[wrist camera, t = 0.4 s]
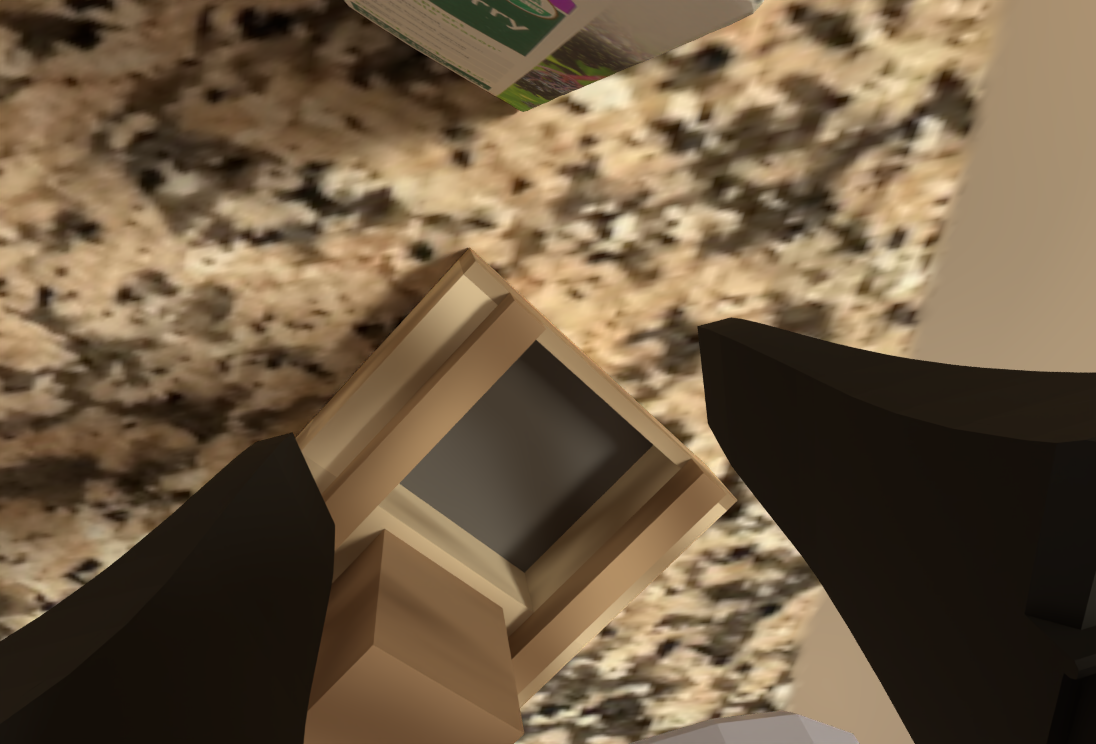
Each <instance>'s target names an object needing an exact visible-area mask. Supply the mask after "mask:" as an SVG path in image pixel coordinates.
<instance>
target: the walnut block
mask: <svg viewBox="0 0 1096 744" xmlns="http://www.w3.org/2000/svg"><path fill="white" fill-rule="evenodd" d="M523 734H524V730H523V724H522V718H521V712H520V706H519V701H518V695H517V689H516V683H515V677H514V671H513V666H512V660H511V654H510V648H509V642H508V637H507V631H506V625H505V619H504V613H503V608H502V607H500V606H499V605H497V604H496V603H494V602H493V601H491V600H490V599H489V598H487V597H486V596H484V595H483V594H481V593H480V592H478V591H477V590H475V589H474V588H472V587H471V586H469V585H468V584H466V583H465V582H463V581H462V580H460V579H459V578H457V577H456V576H454V575H453V574H451V573H450V572H448V571H447V570H445V569H444V568H442V567H441V566H440V565H438V564H437V563H435V562H434V561H432V560H431V559H429V558H428V557H426V556H425V555H423V554H422V553H420V552H419V551H417V550H416V549H414V548H413V547H411V546H410V545H408V544H407V543H405V542H404V541H402V540H401V539H399V538H398V537H396V536H395V535H393V534H392V533H390V532H389V531H388V530H386V529H384V530H383V531H382V532H381V533H380V534H379V535H378V536H377V537H376V538H375V539H374V540H373V541H372V542H371V543H370V545H369V546H368V547H367V548H366V549H365V550H364V551H363V552H362V553H361V554H360V555H359V556H358V557H357V558H356V559H355V560H354V561H353V562H352V563H351V564H350V565H349V566H348V567H347V568H346V570H345V571H344V572H343V573H342V574H341V575H340V576H339V577H338V578H337V579H336V580H335V581H334V582H333V583H332V586H331V591H330V596H329V602H328V607H327V612H326V617H325V622H324V627H323V632H322V637H321V642H320V647H319V652H318V657H317V662H316V667H315V672H314V678H313V683H312V688H311V693H310V698H309V704H308V711H307V718H306V724H305V735H304V744H514V743H515V742H516V741H517V740H518V739H519V738H520V737H521V736H522V735H523Z"/></svg>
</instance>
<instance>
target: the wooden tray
mask: <svg viewBox="0 0 1096 744" xmlns="http://www.w3.org/2000/svg"><path fill="white" fill-rule="evenodd" d="M295 439H296V441H297V443H298V445H299V447H300V450H301V452H302V454H303V456H304V458H305V460H306V463H307V465H308V467H309V469H310V471H311V473H312V476H313V478H314V480H315V482H316V484H317V486H318V489H319V491H320V493H321V495H322V497H323V499H324V502H325V504H326V506H327V508H328V510H329V512H330V515H331V517H332V519H333V521H334V523H335V554H334V571H333V580H332V583H333V582H334V581H335V580H336V579H337V578H338V577H339V576H340V575H341V574H342V573H343V572H344V571H345V570H346V568H347V567H348V566H349V565H350V564H351V563H352V562H353V561H354V560H355V559H356V558H357V557H358V556H359V555H360V554H361V553H362V552H363V551H364V550H365V549H366V548H367V547H368V546H369V545H370V543H371V542H372V541H373V540H374V539H375V538H376V537H377V536H378V535H379V534H380V533H381V532H382V531H383V530H384V529H386V530H388V531H389V532H390V533H392V534H393V535H395V536H396V537H398V538H399V539H401V540H402V541H404V542H405V543H407V544H408V545H410V546H411V547H413V548H414V549H416V550H417V551H419V552H420V553H422V554H423V555H425V556H426V557H428V558H429V559H431V560H432V561H434V562H435V563H437V564H438V565H440V566H441V567H442V568H444V569H445V570H447V571H448V572H450V573H451V574H453V575H454V576H456V577H457V578H459V579H460V580H462V581H463V582H465V583H466V584H468V585H469V586H471V587H472V588H474V589H475V590H477V591H478V592H480V593H481V594H483V595H484V596H486V597H487V598H489V599H490V600H491V601H493V602H494V603H496V604H497V605H499V606H500V607H502V608H503V613H504V619H505V625H506V631H507V637H508V642H509V648H510V654H511V660H512V666H513V671H514V677H515V683H516V689H517V695H518V701H519V706H520V708H521V707H522V706H523V705H524V704H525V703H526V702H527V701H528V700H529V699H530V698H531V697H532V696H533V695H534V694H535V693H536V692H537V691H538V690H539V689H541V688H542V687H543V686H544V685H545V684H546V683H547V682H548V681H549V680H550V679H551V678H552V677H553V676H554V675H555V674H556V673H557V672H558V671H559V670H560V669H561V668H563V667H564V666H565V665H566V664H567V663H568V662H569V661H570V660H571V659H572V658H573V657H574V656H575V655H576V654H577V653H578V652H579V651H580V650H581V649H582V648H583V647H584V646H586V645H587V644H588V643H589V642H590V641H591V640H592V639H593V638H594V637H595V636H596V635H597V634H598V633H599V632H600V631H601V630H602V629H603V628H604V627H605V626H606V625H607V624H609V623H610V622H611V621H612V620H613V619H614V618H615V617H616V616H617V615H618V614H619V613H620V612H621V611H622V610H623V609H624V608H625V607H626V606H627V605H628V604H629V603H630V602H632V601H633V600H634V599H635V598H636V597H637V596H638V595H639V594H640V593H641V592H642V591H643V590H644V589H645V588H646V587H647V586H648V585H649V584H650V583H651V582H652V581H653V580H655V579H656V578H657V577H658V576H659V575H660V574H661V573H662V572H663V571H664V570H665V569H666V568H667V567H668V566H669V565H670V564H671V563H672V562H673V561H674V560H675V559H677V558H678V557H679V556H680V555H681V554H682V553H683V552H684V551H685V550H686V549H687V548H688V547H689V546H690V545H691V544H692V543H693V542H694V541H695V540H696V539H697V538H698V537H700V536H701V535H702V534H703V533H704V532H705V531H706V530H707V529H708V528H709V527H710V526H711V525H712V524H713V523H714V522H715V521H716V520H717V519H718V518H719V517H720V516H721V515H723V514H724V513H725V512H726V511H727V510H728V509H729V508H730V507H731V506H732V505H733V504H734V503H735V502H736V501H737V499H736V498H735V497H734V496H733V495H732V494H731V493H730V491H729V490H728V489H727V488H726V487H725V486H724V485H723V483H722V482H721V481H720V480H719V479H718V478H717V477H716V476H715V474H714V473H713V472H712V471H711V470H710V469H709V468H708V466H706V465H705V464H704V463H703V462H702V461H701V460H700V459H699V458H698V457H697V456H696V455H695V454H693V453H692V452H691V451H690V450H689V449H688V448H687V447H686V446H685V445H684V444H683V443H681V442H680V441H679V440H678V439H677V438H676V437H675V436H674V435H673V434H672V433H671V432H670V431H668V430H667V429H666V428H665V427H664V426H663V425H662V424H661V423H660V422H659V421H658V420H657V419H655V418H654V417H653V416H652V415H651V414H650V413H649V412H648V411H647V410H646V409H645V408H643V407H642V406H641V405H640V404H639V403H638V402H637V401H636V400H635V399H634V398H633V397H632V396H630V395H629V394H628V393H627V392H626V391H625V390H624V389H623V388H622V387H621V386H620V385H618V384H617V383H616V382H615V381H614V380H613V379H612V378H611V377H610V376H609V375H608V374H607V373H605V372H604V371H603V370H602V369H601V368H600V367H599V366H598V365H597V364H596V363H595V362H593V361H592V360H591V359H590V358H589V357H588V356H587V355H586V354H585V353H584V352H583V351H582V350H580V349H579V348H578V347H577V346H576V345H575V344H574V343H573V342H572V341H571V340H570V339H568V338H567V337H566V336H565V335H564V334H563V333H562V332H561V331H560V330H559V329H558V328H557V327H555V326H554V325H553V324H552V323H551V322H550V321H549V320H548V319H547V318H546V317H545V316H544V315H542V314H541V313H540V312H539V311H538V310H537V309H536V308H535V307H534V306H533V305H532V304H530V303H529V302H528V301H527V300H526V299H525V298H524V297H523V296H522V295H521V294H520V293H519V292H517V291H516V290H515V289H514V288H513V287H512V286H511V285H510V284H509V283H508V282H507V281H505V280H504V279H503V278H502V277H501V276H500V275H499V274H498V273H497V272H496V271H495V270H494V269H492V268H491V267H490V266H489V265H488V264H487V263H486V262H485V261H484V260H483V259H482V258H480V257H479V256H478V255H477V254H476V253H475V252H474V251H473V250H472V249H471V248H469V249H468V250H467V251H466V252H465V253H464V254H463V255H462V256H461V258H460V259H459V260H458V261H457V262H456V263H455V264H454V265H453V266H452V267H451V269H450V270H449V271H448V272H447V273H446V274H445V275H444V276H443V277H442V278H441V279H440V281H439V282H438V283H437V284H436V285H435V286H434V287H433V288H432V289H431V290H430V291H429V293H428V294H427V295H426V296H425V297H424V298H423V299H422V300H421V301H420V302H419V304H418V305H417V306H416V307H415V308H414V309H413V310H412V311H411V312H410V313H409V314H408V316H407V317H406V318H405V319H404V320H403V321H402V322H401V323H400V324H399V325H398V326H397V328H396V329H395V330H394V331H393V332H392V333H391V334H390V335H389V336H388V337H387V339H386V340H385V341H384V342H383V343H382V344H381V345H380V346H379V347H378V348H377V349H376V351H375V352H374V353H373V354H372V355H371V356H370V357H369V358H368V359H367V360H366V362H365V363H364V364H363V365H362V366H361V367H360V368H359V369H358V370H357V371H356V372H355V374H354V375H353V376H352V377H351V378H350V379H349V380H348V381H347V382H346V383H345V384H344V386H343V387H342V388H341V389H340V390H339V391H338V392H337V393H336V394H335V395H334V397H333V398H332V399H331V400H330V401H329V402H328V403H327V404H326V405H325V406H324V407H323V409H322V410H321V411H320V412H319V413H318V414H317V415H316V416H315V417H314V418H313V419H312V421H311V422H310V423H309V424H308V425H307V426H306V427H305V428H304V429H303V430H302V432H301V433H300V434H299V435H298V436H297V437H296V438H295Z"/></svg>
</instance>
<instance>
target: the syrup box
mask: <svg viewBox="0 0 1096 744" xmlns="http://www.w3.org/2000/svg"><path fill="white" fill-rule="evenodd" d="M344 1H345V2H346V3H347V5H348V6H349V7H351V8H352V9H354V10H355V11H357V12H358V13H360V14H361V15H363V16H364V17H366V18H367V19H369V20H370V21H372V22H373V23H375V24H376V25H378V26H380V27H381V28H383V29H384V30H386V31H387V32H389V33H391V34H392V35H394V36H395V37H397V38H398V39H400V40H402V41H403V42H405V43H406V44H408V45H409V46H411V47H412V48H414V49H416V50H417V51H419V52H421V53H423V54H424V55H426V56H428V57H429V58H431V59H433V60H434V61H436V62H438V63H439V64H441V65H443V66H445V67H446V68H448V69H450V70H451V71H453V72H455V73H456V74H458V75H460V76H461V77H463V78H465V79H467V80H468V81H470V82H472V83H474V84H475V85H477V86H479V87H480V88H482V89H484V90H485V91H487V92H489V93H491V94H492V95H494V96H496V97H498V98H500V99H502V100H503V101H505V102H507V103H508V104H510V105H512V106H513V107H515V108H516V109H518V110H520V111H522V112H524V111H528V110H530V109H532V108H534V107H537V106H539V105H541V104H543V103H547V102H549V101H551V100H553V99H555V98H557V97H559V96H561V95H565V94H567V93H569V92H571V91H574V90H577V89H579V88H582V87H584V86H586V85H589V84H591V83H593V82H596V81H598V80H601V79H603V78H606V77H608V76H610V75H613V74H615V73H616V72H619V71H621V70H624V69H626V68H628V67H631V66H633V65H636V64H639V63H641V62H644V61H646V60H649V59H651V58H654V57H656V56H658V55H661V54H663V53H665V52H668V51H670V50H673V49H675V48H677V47H679V46H682V45H684V44H686V43H689V42H691V41H694V40H696V39H698V38H700V37H703V36H705V35H707V34H709V33H711V32H714V31H716V30H719V29H721V28H724V27H726V26H729V25H731V24H733V23H735V22H737V21H739V20H741V19H743V18H745V17H747V16H749V15H751V14H753V13H754V12H755V11H756V10H757V9H758V8H759V7H760V5H761V4H762V3H763V1H764V0H344Z"/></svg>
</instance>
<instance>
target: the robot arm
mask: <svg viewBox="0 0 1096 744" xmlns="http://www.w3.org/2000/svg"><path fill="white" fill-rule="evenodd" d="M697 327H698V336H699V345H700V354H701V364H702V373H703V382H704V392H705V401H706V410H707V419H708V425H709V426H710V428H711V430H712V432H713V434H714V436H715V438H716V439H717V441H718V443H719V445H720V447H721V448H722V450H723V452H724V454H725V455H726V457H727V459H728V460H729V462H730V464H731V466H732V467H733V468H734V470H735V471H736V472H737V474H738V475H739V476H740V477H741V479H742V480H743V481H744V483H745V484H746V485H747V487H748V488H749V489H750V490H751V492H752V493H753V494H754V496H755V497H756V498H757V499H758V501H759V502H760V503H761V505H762V506H763V507H764V508H765V510H766V511H767V512H768V513H769V515H770V516H771V517H772V519H773V520H774V521H775V522H776V524H777V525H778V526H779V527H780V529H781V530H782V531H783V533H784V534H785V535H786V536H787V538H788V539H789V540H790V541H791V543H792V544H793V545H794V547H795V548H796V549H797V550H798V552H799V553H800V554H801V555H802V557H803V558H804V560H805V561H806V562H807V564H808V565H809V567H810V568H811V569H812V571H813V572H814V574H815V575H816V576H817V578H818V579H819V581H820V583H821V584H822V586H823V587H824V589H825V591H826V592H827V594H828V595H829V597H830V599H831V600H832V602H833V604H834V605H835V607H836V608H837V610H838V612H839V613H840V615H841V616H842V618H843V620H844V621H845V623H846V624H847V626H848V628H849V629H850V631H851V633H852V634H853V636H854V638H855V640H856V641H857V643H858V645H859V646H860V648H861V650H862V651H863V653H864V655H865V657H866V658H867V660H868V662H869V663H870V665H871V667H872V668H873V670H874V672H875V673H876V675H877V677H878V679H879V680H880V682H881V684H882V686H883V687H884V689H885V691H886V693H887V695H888V696H889V698H890V700H891V702H892V704H893V705H894V707H895V709H896V711H897V713H898V714H899V716H900V718H901V720H902V722H903V723H904V725H905V727H906V729H907V730H908V732H909V734H910V736H911V738H912V739H913V741H914V743H915V744H1096V373H1074V372H1039V371H1023V370H1008V369H992V368H980V367H969V366H959V365H951V364H943V363H937V362H929V361H922V360H915V359H908V358H903V357H897V356H891V355H886V354H881V353H877V352H872V351H867V350H862V349H858V348H853V347H849V346H844V345H840V344H836V343H832V342H828V341H824V340H820V339H816V338H813V337H809V336H805V335H801V334H798V333H794V332H790V331H787V330H783V329H779V328H776V327H772V326H768V325H765V324H761V323H757V322H753V321H748V320H744V319H738V318H727V319H723V320H720V321H716V322H712V323H708V324H704V325H701V326H697ZM334 554H335V523H334V521H333V519H332V517H331V515H330V512H329V510H328V508H327V506H326V504H325V502H324V499H323V497H322V495H321V493H320V491H319V489H318V486H317V484H316V482H315V480H314V478H313V476H312V473H311V471H310V469H309V467H308V465H307V463H306V460H305V458H304V456H303V454H302V452H301V450H300V447H299V445H298V443H297V441H296V439H295V437H294V434H293V433H289V434H285V435H281V436H277V437H273V438H270V439H266V440H262V441H258V442H256V443H255V444H253V445H252V446H250V447H249V448H247V449H246V450H245V451H243V452H242V453H241V454H240V455H238V456H237V457H236V458H235V459H234V460H232V461H231V462H230V463H229V464H228V465H227V466H226V467H224V468H223V469H222V470H221V471H220V472H219V473H218V474H216V475H215V476H214V477H213V478H212V479H211V480H210V481H209V482H208V483H206V484H205V485H204V486H203V487H202V488H201V489H200V490H199V491H198V492H196V493H195V494H194V495H193V496H192V497H191V498H190V499H189V500H187V501H186V502H185V503H184V504H183V505H182V506H181V507H180V508H179V509H177V510H176V511H175V512H174V513H173V514H172V515H171V516H169V517H168V518H167V519H166V520H165V521H163V522H162V523H161V524H160V525H159V526H158V527H156V528H155V529H154V530H153V531H152V532H150V533H149V534H148V535H147V536H146V537H144V538H143V539H142V540H141V541H140V542H138V543H137V544H136V545H135V546H134V547H132V548H131V549H130V550H129V551H128V552H127V553H125V554H124V555H123V556H122V557H120V558H119V559H118V560H117V561H115V562H114V563H113V564H112V565H110V566H109V567H108V568H106V569H105V570H104V571H102V572H101V573H100V574H99V575H97V576H96V577H95V578H93V579H92V580H91V581H89V582H88V583H86V584H85V585H84V586H82V587H81V588H80V589H78V590H77V591H75V592H74V593H73V594H71V595H70V596H68V597H67V598H66V599H64V600H63V601H61V602H60V603H59V604H57V605H56V606H54V607H53V608H51V609H50V610H48V611H47V612H46V613H44V614H43V615H41V616H40V617H38V618H37V619H35V620H33V621H32V622H30V623H29V624H27V625H26V626H24V627H22V628H21V629H19V630H18V631H16V632H15V633H13V634H11V635H10V636H8V637H7V638H5V639H4V640H2V641H0V744H304V735H305V724H306V718H307V711H308V704H309V698H310V693H311V688H312V683H313V678H314V672H315V667H316V662H317V657H318V652H319V647H320V642H321V637H322V632H323V627H324V622H325V617H326V612H327V607H328V602H329V596H330V591H331V586H332V580H333V571H334ZM630 744H859V742H858V740H857V739H856V737H855V736H854V734H852V733H850V732H847V731H844V730H841V729H838V728H836V727H833V726H830V725H827V724H824V723H821V722H818V721H816V720H813V719H810V718H807V717H805V716H802V715H799V714H795V713H791V712H786V711H774V712H766V713H757V714H749V715H741V716H732V717H724V718H716V719H710V720H707V721H703V722H700V723H697V724H693V725H690V726H687V727H683V728H680V729H677V730H673V731H670V732H666V733H663V734H660V735H656V736H653V737H650V738H646V739H643V740H640V741H636V742H633V743H630Z"/></svg>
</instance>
